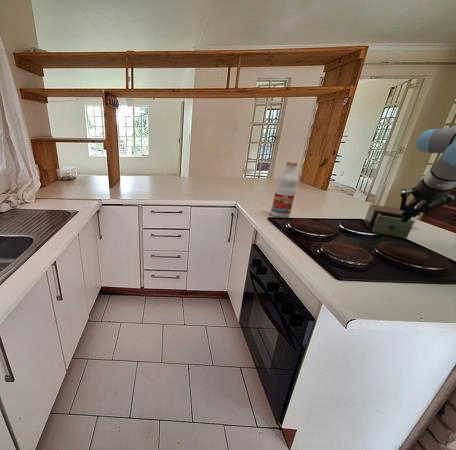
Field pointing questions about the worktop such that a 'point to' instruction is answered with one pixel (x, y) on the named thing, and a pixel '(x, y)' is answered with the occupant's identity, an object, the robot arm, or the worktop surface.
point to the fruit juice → (285, 192)
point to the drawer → (391, 225)
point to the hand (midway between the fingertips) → (403, 219)
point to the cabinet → (381, 209)
